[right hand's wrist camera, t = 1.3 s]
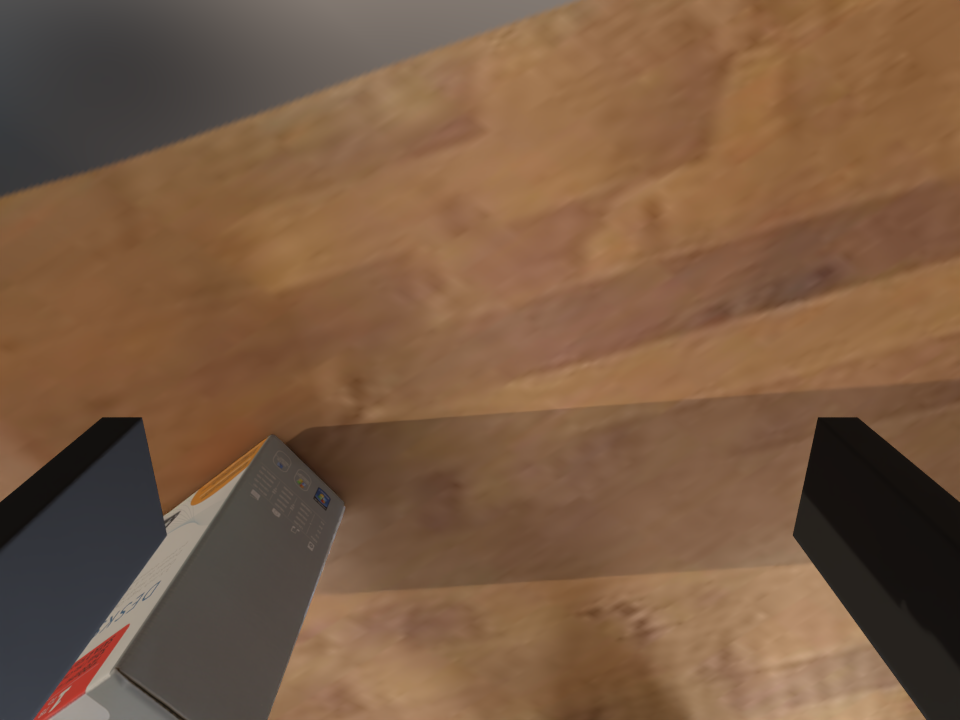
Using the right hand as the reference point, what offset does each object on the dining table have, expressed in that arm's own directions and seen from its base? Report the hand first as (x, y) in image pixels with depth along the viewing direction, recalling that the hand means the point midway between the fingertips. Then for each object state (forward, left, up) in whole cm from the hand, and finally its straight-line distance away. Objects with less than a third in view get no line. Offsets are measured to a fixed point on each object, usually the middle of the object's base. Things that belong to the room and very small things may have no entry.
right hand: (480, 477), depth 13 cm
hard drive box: (-21, +18, -28) cm, 39 cm away
